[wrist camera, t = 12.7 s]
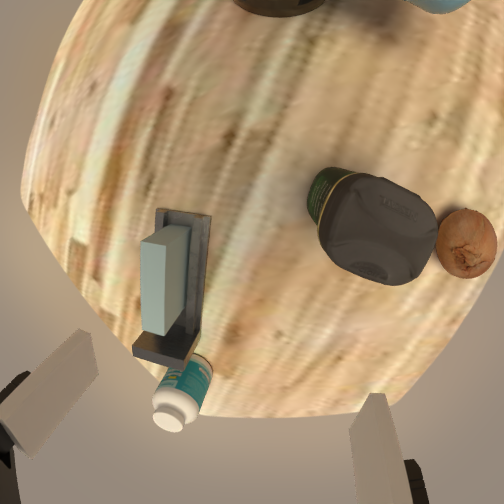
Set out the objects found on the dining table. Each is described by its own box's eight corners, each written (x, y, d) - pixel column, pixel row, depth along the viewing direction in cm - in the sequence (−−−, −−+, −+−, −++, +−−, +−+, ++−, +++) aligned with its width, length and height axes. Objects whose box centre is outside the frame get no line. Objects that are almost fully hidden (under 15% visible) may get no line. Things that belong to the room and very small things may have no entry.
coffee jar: (299, 216, 38) (306, 265, 20) (320, 159, 35) (349, 157, 17) (364, 242, 37) (416, 306, 20) (386, 188, 35) (459, 214, 17)
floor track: (158, 208, 40) (127, 220, 32) (211, 216, 39) (190, 231, 31) (155, 326, 46) (133, 356, 38) (200, 338, 45) (183, 371, 37)
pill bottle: (188, 343, 46) (158, 398, 33) (222, 369, 47) (202, 428, 34) (166, 364, 49) (136, 416, 36) (197, 388, 49) (175, 442, 37)
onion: (426, 245, 39) (426, 280, 32) (445, 190, 34) (452, 214, 27) (476, 265, 35) (484, 303, 28) (498, 212, 30) (515, 242, 23)
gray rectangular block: (170, 223, 40) (140, 241, 31) (192, 227, 39) (166, 246, 31) (167, 299, 43) (142, 329, 35) (186, 304, 43) (164, 336, 35)
